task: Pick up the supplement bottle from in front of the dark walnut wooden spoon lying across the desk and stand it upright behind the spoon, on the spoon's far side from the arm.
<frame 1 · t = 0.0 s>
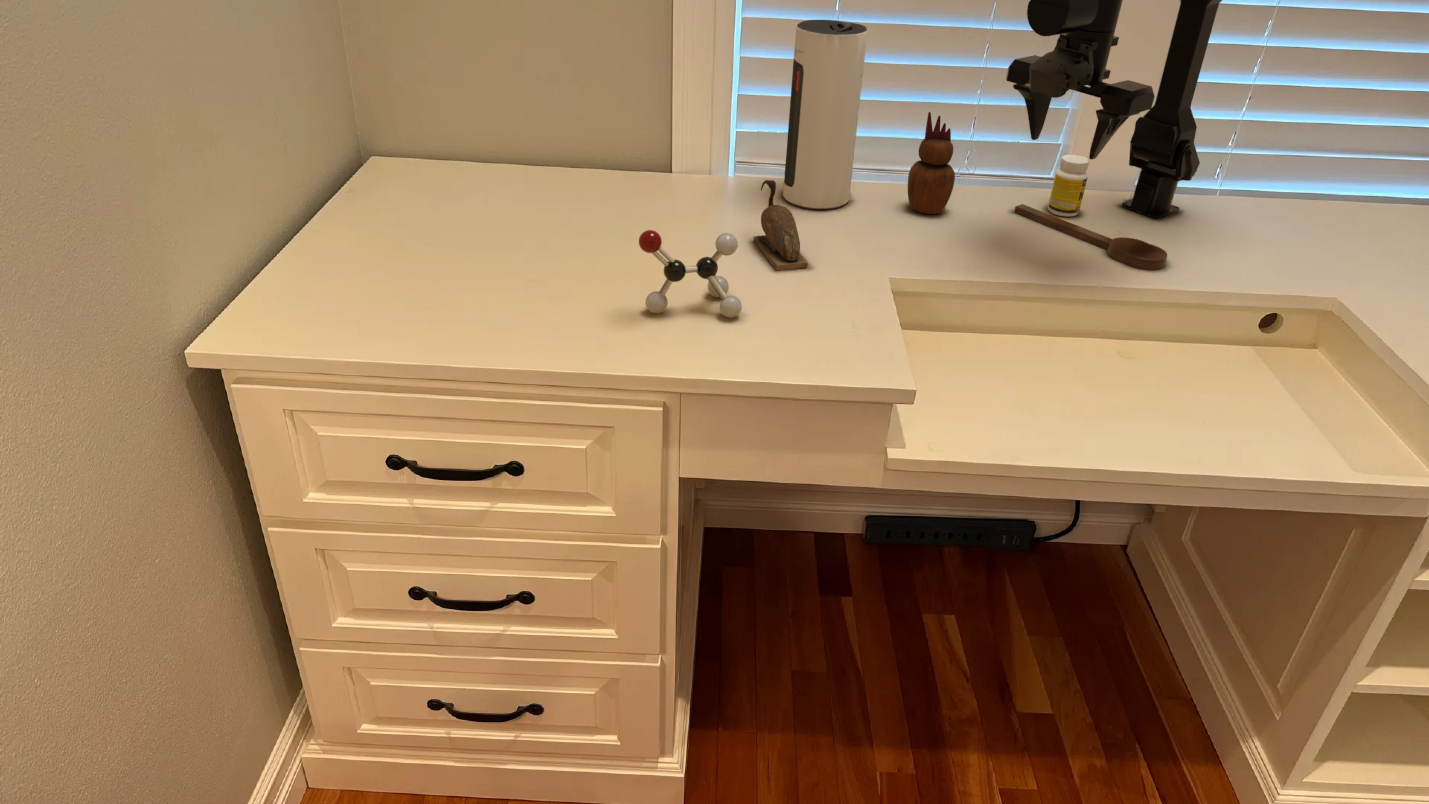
hand: (1062, 148, 132), 15 cm above the table, tool pointing down, fingers open, 9 cm apart
wooden spoon: (1083, 237, 144), on the table
molecular model: (687, 311, 121), on the table
wooden figurine: (926, 211, 151), on the table
figurine: (774, 249, 137), on the table
supplement bottle: (1062, 212, 153), on the table
speaker: (815, 199, 154), on the table
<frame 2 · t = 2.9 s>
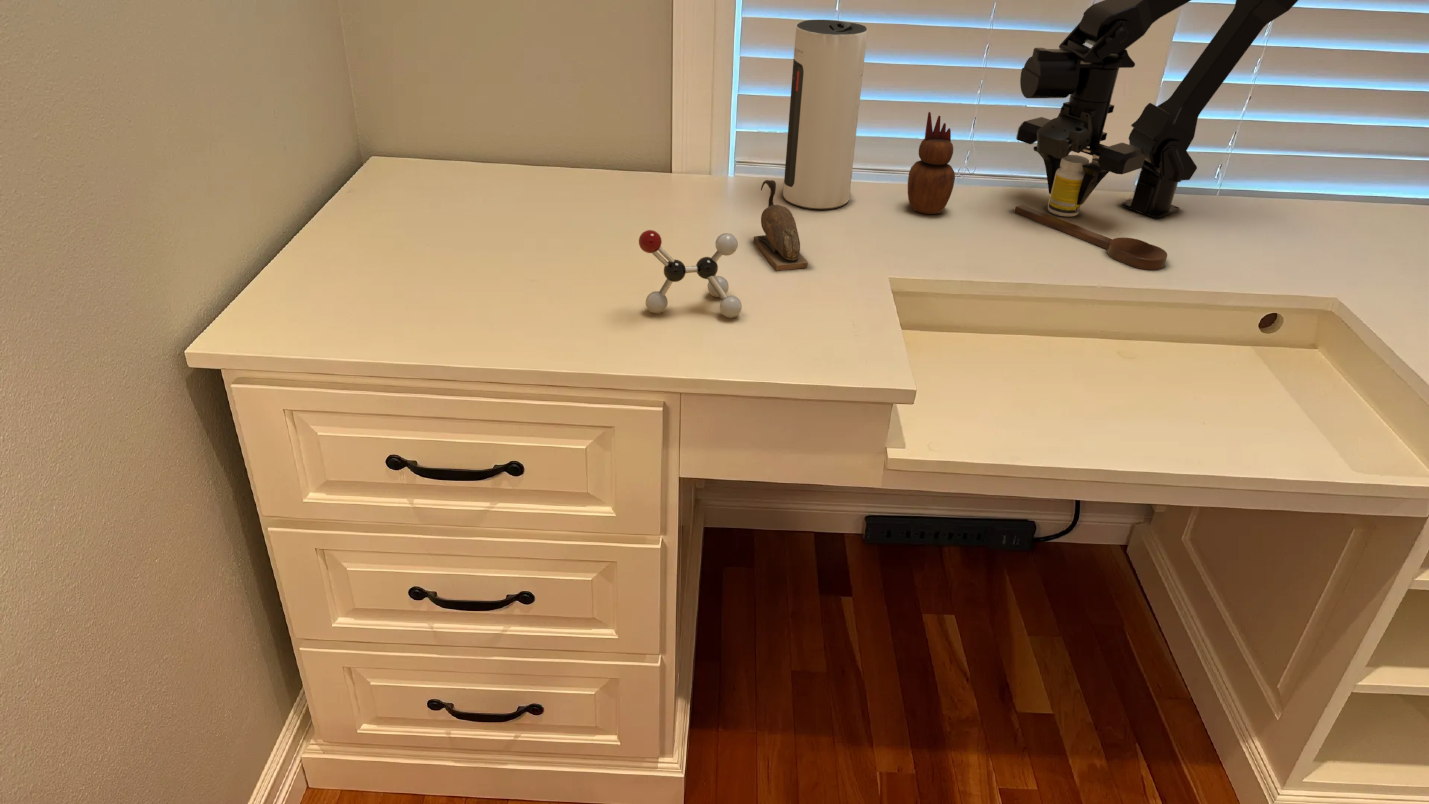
hand: (1065, 199, 152), 2 cm above the table, tool pointing down, fingers closed on supplement bottle, 5 cm apart
supplement bottle: (1062, 212, 153), on the table, touching gripper
everything else where it was.
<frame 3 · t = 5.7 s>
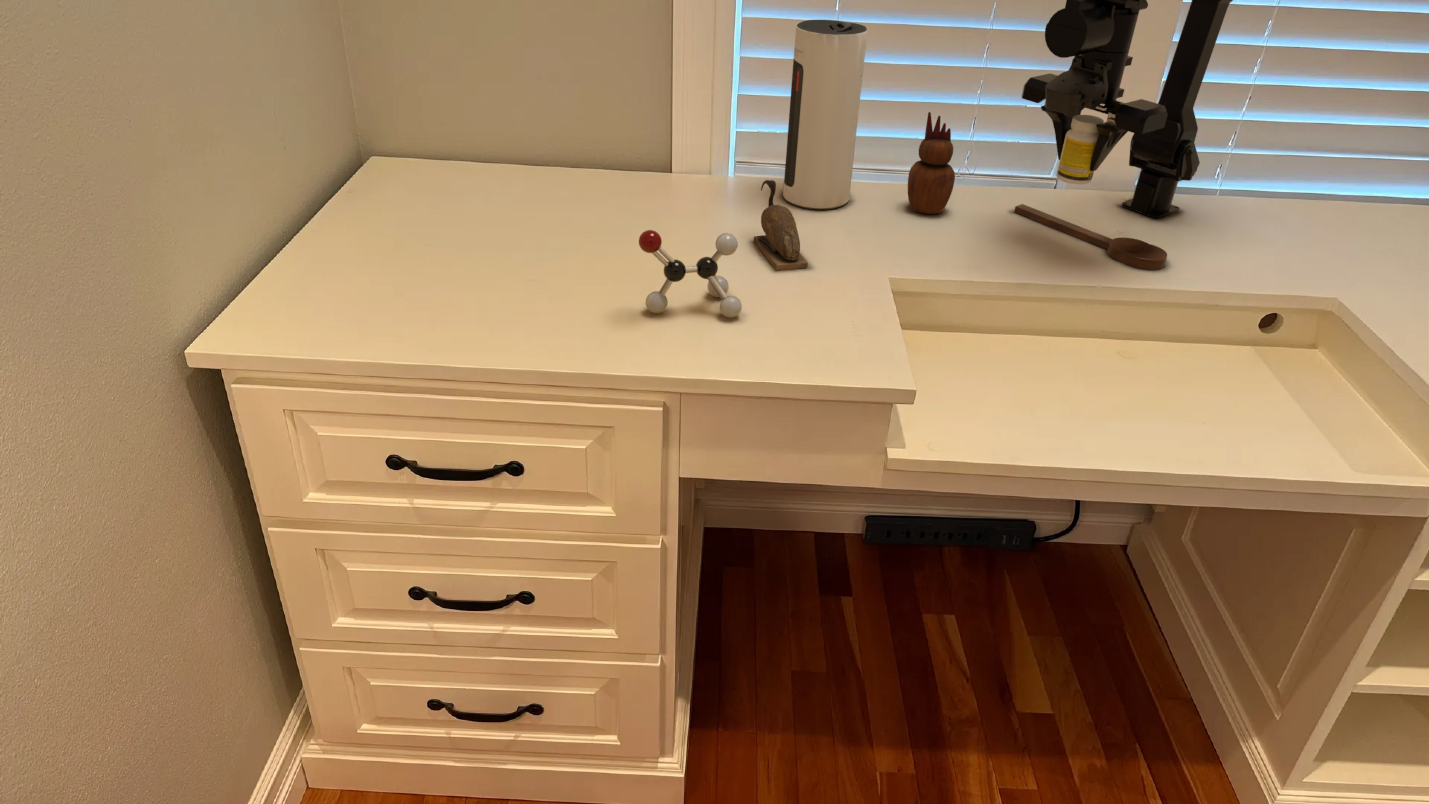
hand: (1077, 165, 135), 12 cm above the table, tool pointing down, fingers closed on supplement bottle, 5 cm apart
supplement bottle: (1073, 180, 136), point 10 cm above the table, touching gripper
everything else where it was.
when the fingers open (2 cm above the table, at t = 8.5 s): supplement bottle stays where it is, on the table.
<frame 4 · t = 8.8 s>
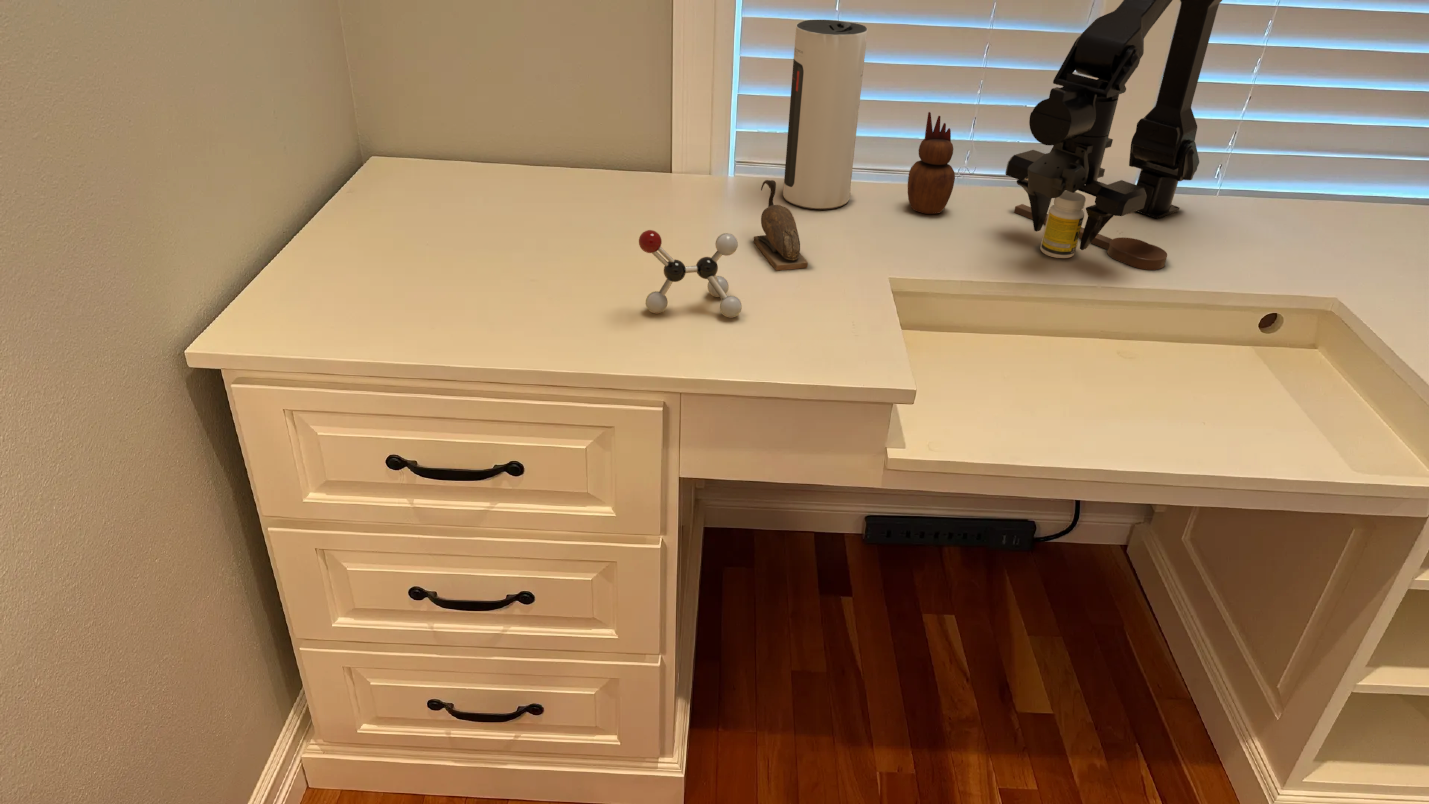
hand: (1059, 239, 139), 2 cm above the table, tool pointing down, fingers open, 7 cm apart
supplement bottle: (1056, 253, 140), on the table
everything else where it was.
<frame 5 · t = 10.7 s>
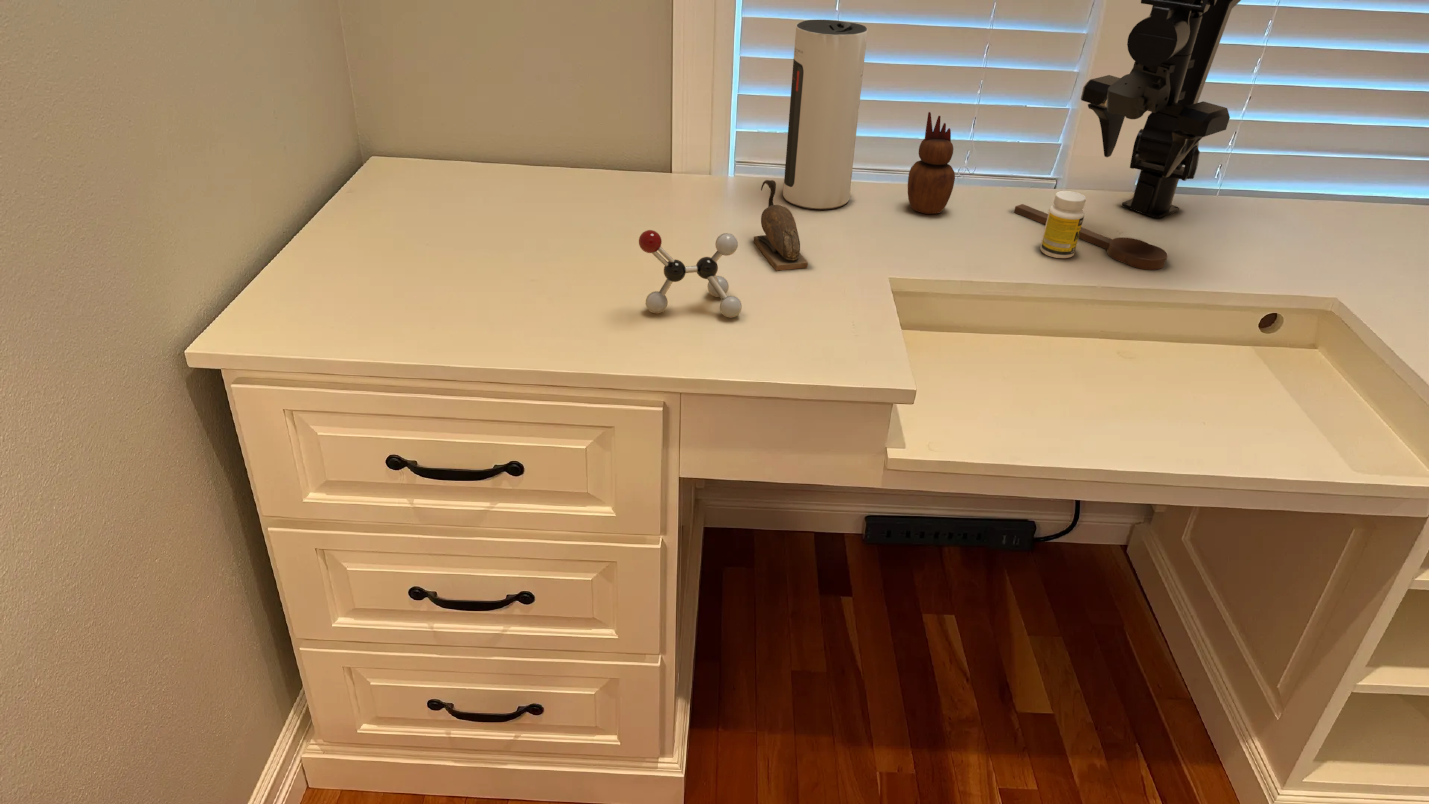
hand: (1136, 166, 136), 12 cm above the table, tool pointing down, fingers open, 9 cm apart
nothing on the table moved.
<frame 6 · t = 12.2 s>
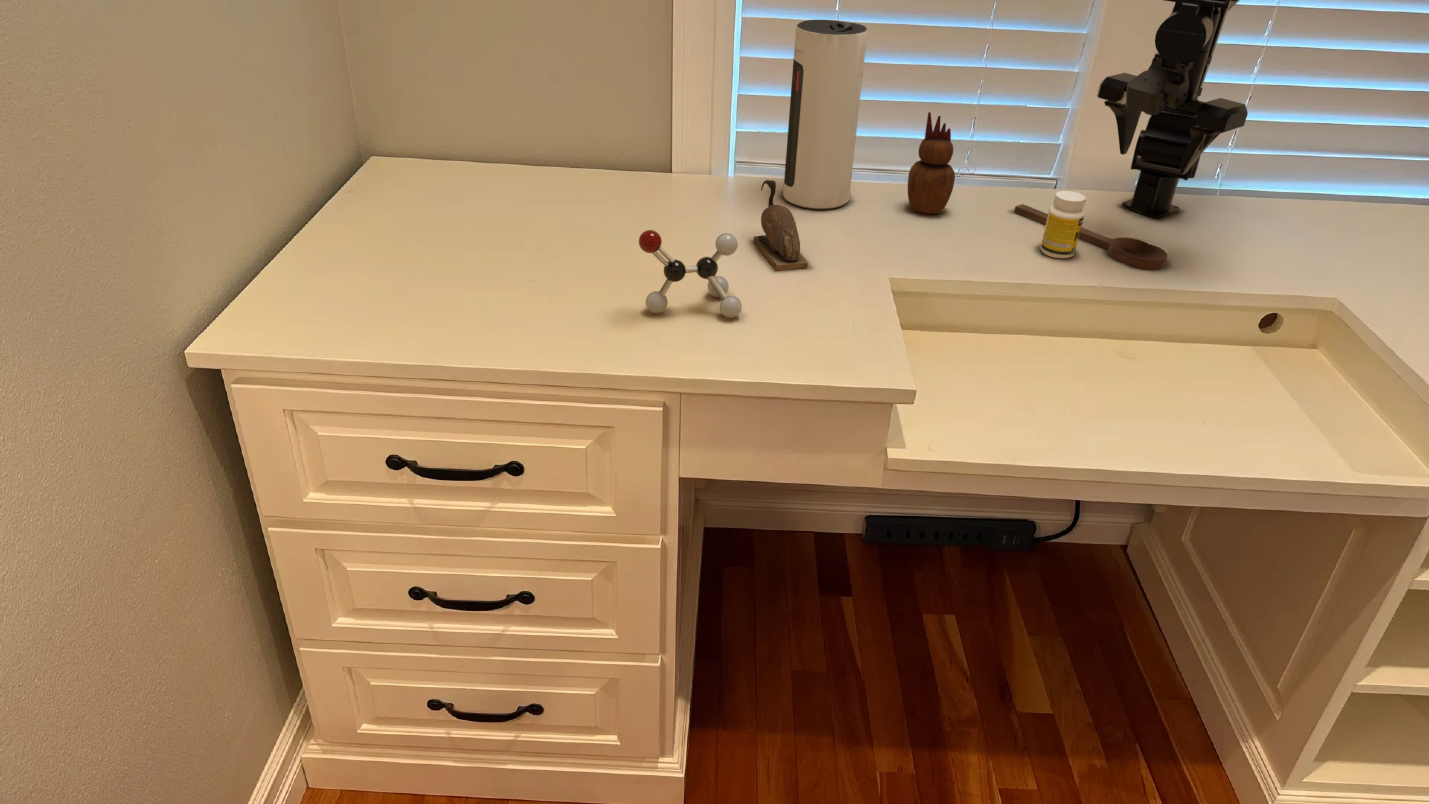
hand: (1152, 163, 137), 12 cm above the table, tool pointing down, fingers open, 9 cm apart
nothing on the table moved.
at the end: supplement bottle inside the target area on the table beside the wooden spoon (1.5 cm from its centre), on the table; supplement bottle tilted 0°; wooden spoon moved 0.0 cm from its start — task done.
